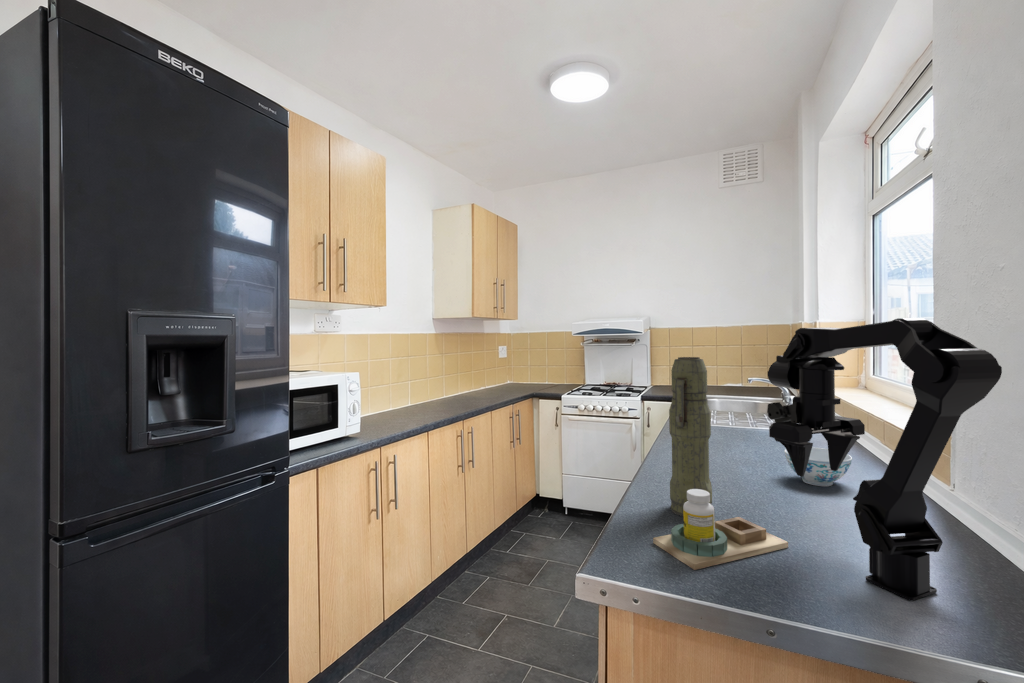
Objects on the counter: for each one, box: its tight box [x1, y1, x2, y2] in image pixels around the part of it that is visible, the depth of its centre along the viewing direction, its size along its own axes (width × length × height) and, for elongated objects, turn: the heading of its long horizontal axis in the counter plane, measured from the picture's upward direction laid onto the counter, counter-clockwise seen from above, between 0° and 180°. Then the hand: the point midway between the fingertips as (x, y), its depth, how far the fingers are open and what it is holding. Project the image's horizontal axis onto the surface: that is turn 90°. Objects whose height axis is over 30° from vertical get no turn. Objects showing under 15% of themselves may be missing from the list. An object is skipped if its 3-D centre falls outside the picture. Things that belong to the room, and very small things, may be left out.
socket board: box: [652, 516, 789, 571], centre depth 86 cm, size 11×22×3 cm, turn 110°
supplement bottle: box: [683, 489, 716, 543], centre depth 84 cm, size 5×5×10 cm
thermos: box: [668, 356, 713, 517], centre depth 103 cm, size 9×12×35 cm
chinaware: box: [784, 446, 853, 487], centre depth 121 cm, size 15×15×8 cm
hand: (817, 473), depth 87 cm, fingers open, 9 cm apart
